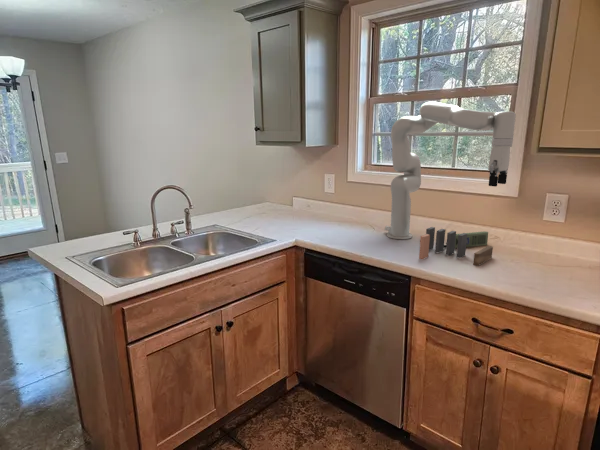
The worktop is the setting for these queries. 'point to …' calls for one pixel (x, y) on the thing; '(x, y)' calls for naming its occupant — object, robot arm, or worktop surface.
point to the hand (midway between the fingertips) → (497, 184)
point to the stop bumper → (482, 255)
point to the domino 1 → (424, 246)
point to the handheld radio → (474, 239)
